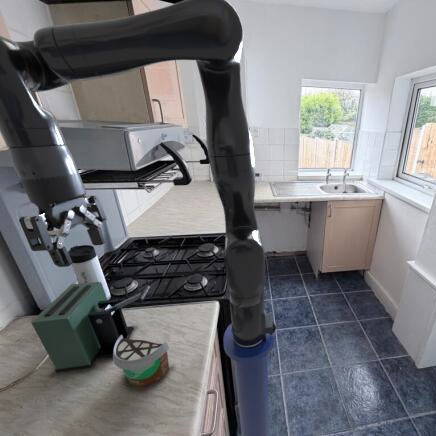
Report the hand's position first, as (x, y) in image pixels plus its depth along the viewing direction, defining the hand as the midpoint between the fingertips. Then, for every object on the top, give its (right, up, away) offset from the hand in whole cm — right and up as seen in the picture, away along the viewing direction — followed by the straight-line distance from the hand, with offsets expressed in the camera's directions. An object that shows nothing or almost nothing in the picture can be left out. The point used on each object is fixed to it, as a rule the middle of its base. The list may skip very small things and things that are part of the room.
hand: (84, 254), depth 47 cm
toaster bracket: (-7, -27, +17) cm, 33 cm away
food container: (+6, -31, +9) cm, 33 cm away
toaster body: (-13, -27, +16) cm, 34 cm away
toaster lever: (-1, -16, +14) cm, 21 cm away
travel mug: (-24, -21, +32) cm, 45 cm away
